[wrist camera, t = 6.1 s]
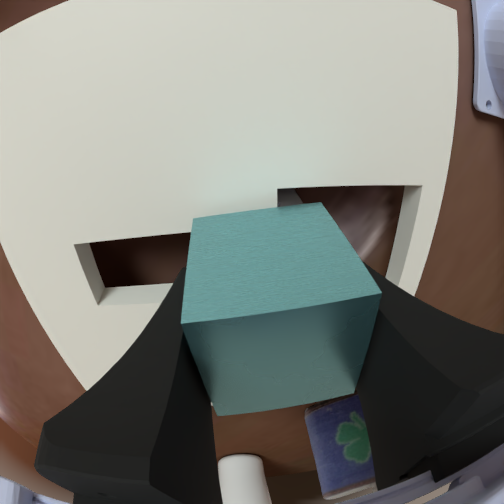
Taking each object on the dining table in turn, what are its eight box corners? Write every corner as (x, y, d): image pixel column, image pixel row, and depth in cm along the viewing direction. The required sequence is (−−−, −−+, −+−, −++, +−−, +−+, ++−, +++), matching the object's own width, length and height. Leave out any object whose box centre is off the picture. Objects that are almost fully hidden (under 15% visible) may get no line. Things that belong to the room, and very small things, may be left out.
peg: (299, 162, 12) (392, 283, 6) (301, 250, 15) (358, 394, 8) (193, 175, 12) (168, 317, 5) (210, 263, 15) (212, 419, 8)
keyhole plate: (411, 15, 9) (456, 10, 6) (362, 344, 20) (378, 380, 17) (5, 53, 8) (-39, 58, 5) (105, 366, 19) (97, 403, 16)
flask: (305, 417, 25) (328, 519, 16) (300, 405, 24) (326, 518, 15) (397, 386, 25) (435, 480, 16) (400, 371, 23) (444, 473, 14)
